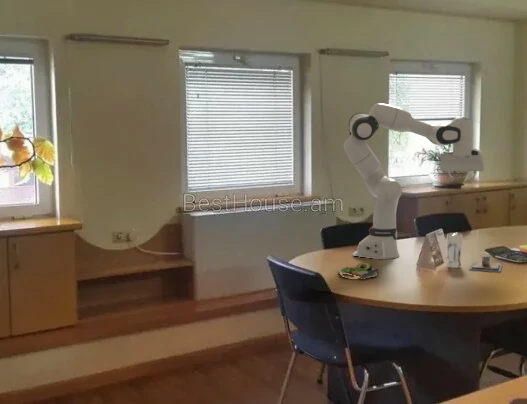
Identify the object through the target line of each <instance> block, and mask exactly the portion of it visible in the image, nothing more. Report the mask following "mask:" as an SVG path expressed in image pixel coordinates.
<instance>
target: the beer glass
mask: <svg viewBox="0 0 527 404" xmlns="http://www.w3.org/2000/svg"><path fill="white" fill-rule="evenodd" d="M463 240H464V239H463V233H460V232H449V233H447V235H446V250H447V254H448V255H447V256H448V262H447V267H448V268H451V269H460V268H462V262H461V260H462V258H461V257H462V251H463V246H464V242H463Z"/></svg>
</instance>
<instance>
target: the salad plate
mask: <svg viewBox="0 0 527 404" xmlns="http://www.w3.org/2000/svg"><path fill="white" fill-rule="evenodd" d="M340 271H341V272H342V273H349V274H352V275H356V276H359V277H360V278H362V279H363V280H365V279H364V278H369V277H374V278H376V277H377V276H378V271H379V268H375V269H374V268H373V267H372V264H371V263H370V262H361V263H358V264H357V266H355V267H348V266H346V267H342V268H340V269H339V270H338V275H339V274H340ZM340 275H341V274H340ZM340 275H339V276H340ZM341 276H344V277H349V275H341ZM341 276H340V277H341ZM375 276H376V277H375Z"/></svg>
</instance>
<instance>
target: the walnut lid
mask: <svg viewBox="0 0 527 404" xmlns="http://www.w3.org/2000/svg"><path fill="white" fill-rule="evenodd" d="M490 257H491V256H489V255H482V256H481V259H482V260H481V261H474V262H472V263H473V265H472V269H482V270H497V271H498V269H499V265H501V264H500V263H499V262H498V263H497V262H490Z"/></svg>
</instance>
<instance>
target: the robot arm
mask: <svg viewBox="0 0 527 404" xmlns="http://www.w3.org/2000/svg"><path fill="white" fill-rule="evenodd" d="M380 128H383V129H387V130H389V131H393V132H394V131H395V132H397V133H398V132H399V133H405V132H407V133H408V132H409V133H413V134H415V135H420V136H421V137H425V139H428V140H429V142H430V143H432V144H433V145H437V146H448V145H452V151H443V152H441V153H440V154H439V160H440V166H439V168H440V170H441V171H440V172H447V175H448V176H449V181H451V182H453V181H454V180H455V179H454V176H452V174H451V173H452V172H472V174H473V176H470V181H471V182H474V180H475V176H476V175H477V173H478V172H483V171H485V159H484V157H483V156H482V155H483V151H482V150H480V149H476V148H473V142H472V140H473V139H472V138H473V123H472V120H471V119H470V118H466V117H461V116H460V117H458V116H457V117H456V116H455V118H454V119H452V120H450V121H447V122H446V123H444V124H441V123H436V124H431V123H426V122H424V121H420V120H418V119H416V118H414V117H413V116H412V114H411V113H410V112H409V111H407V110H405V109H404V108H401V107H398V106H395V105H391V104H387V103H380V102H377V103H374V105H373V106H371V108H370V111H369V112H368V113H367V114H366V113H364V112H357V113H355V114H353V115H352V116H351V117H350V119H349V121H348V130H349V135H350V136H349V138H347V139H346V140H345V142H344V143H343V149H344V150H343V151H345V154H346V156H347V157H348V159H349V161H350V162H351V164H352V165H353V166H354V168H355V169H356V170H357V172H358V173H359V175H360V176H361V178H362V179H363V181H364V183H365V185H366V187H367V190H368V192H369V193H370V195H372V197H374V198H376V202H375V206H374V209H373V211H372V226H371V227H370V228H369V229H368V233H369V235H367V236H366V237H364V238H363V239H362V240H361V241H359V243H358V245H357V249H356V251H354V252H353V253H352V257H354V256H359V257H358V258H360V257H366V258H365V259H369V258H373V259H372V260H378V259H383V260H387V259H388V260H389V259H395V258H396V259H397V258H399V257H400V253H399V249H398V242H397V238H398V230H397V229H398V228H397V209H398V204H399V199H400V197H401V196H402V194H403V188H402V185H401V184H400V182H398V181H397V180H396V179H395V178H391V177H389V176H387V175H386V173H385V171H384V169H383V166H382V163H381V162H380V160H379V159H378V157H377V156H376V155H375V153H374V151H373V150H372V149H371V148H370V146H369V145H368V143H367V140H369V139H371V138H372V137H373V136H374V134H375V133H376V132H377V130H378V129H380Z"/></svg>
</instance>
